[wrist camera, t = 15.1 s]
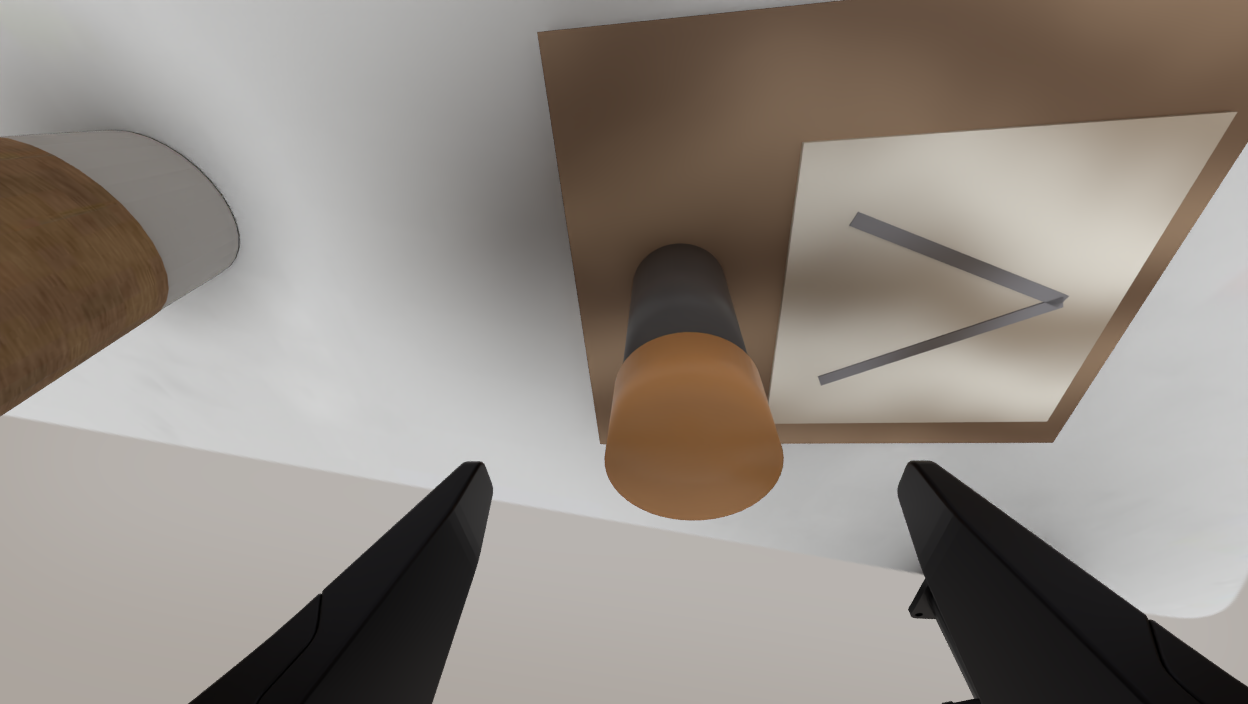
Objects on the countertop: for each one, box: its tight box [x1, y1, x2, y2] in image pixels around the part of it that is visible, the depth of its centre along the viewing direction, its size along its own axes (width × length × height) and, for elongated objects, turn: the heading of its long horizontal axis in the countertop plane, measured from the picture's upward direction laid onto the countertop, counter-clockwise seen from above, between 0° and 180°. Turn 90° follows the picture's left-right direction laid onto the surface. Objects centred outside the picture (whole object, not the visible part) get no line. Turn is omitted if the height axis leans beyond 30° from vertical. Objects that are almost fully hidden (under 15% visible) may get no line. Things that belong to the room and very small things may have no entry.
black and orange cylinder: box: [605, 243, 784, 520], centre depth 13 cm, size 4×4×9 cm
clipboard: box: [537, 0, 1248, 444], centre depth 17 cm, size 17×21×2 cm
